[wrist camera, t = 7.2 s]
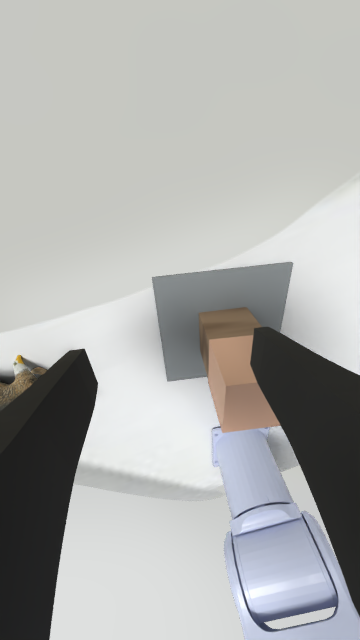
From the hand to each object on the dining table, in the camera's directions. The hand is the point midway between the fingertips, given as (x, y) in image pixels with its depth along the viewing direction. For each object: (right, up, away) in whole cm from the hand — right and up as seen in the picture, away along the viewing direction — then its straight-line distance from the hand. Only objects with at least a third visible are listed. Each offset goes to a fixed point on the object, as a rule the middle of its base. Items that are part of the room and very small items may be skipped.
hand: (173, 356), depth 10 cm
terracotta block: (+5, -2, +8) cm, 10 cm away
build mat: (+4, +1, +12) cm, 13 cm away
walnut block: (+4, +1, +12) cm, 13 cm away
